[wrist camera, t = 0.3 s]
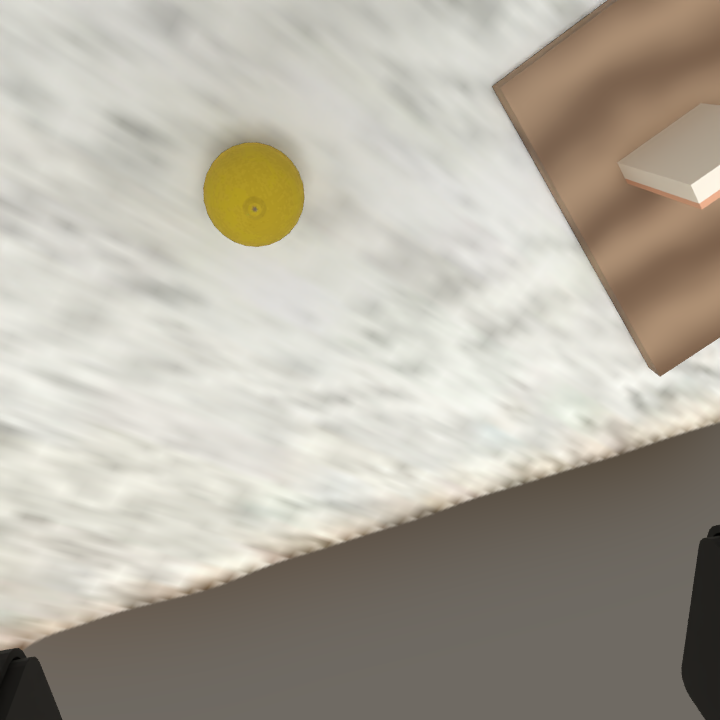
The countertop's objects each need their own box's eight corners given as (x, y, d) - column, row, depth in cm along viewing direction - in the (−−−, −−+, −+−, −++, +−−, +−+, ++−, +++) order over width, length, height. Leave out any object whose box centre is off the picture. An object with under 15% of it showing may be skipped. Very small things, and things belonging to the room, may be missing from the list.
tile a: (617, 162, 43) (690, 185, 36) (700, 103, 42) (793, 113, 35) (627, 183, 44) (701, 209, 36) (710, 125, 43) (803, 140, 36)
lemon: (317, 190, 43) (331, 218, 35) (248, 244, 43) (247, 283, 36) (260, 115, 40) (261, 128, 33) (188, 173, 41) (174, 199, 34)
